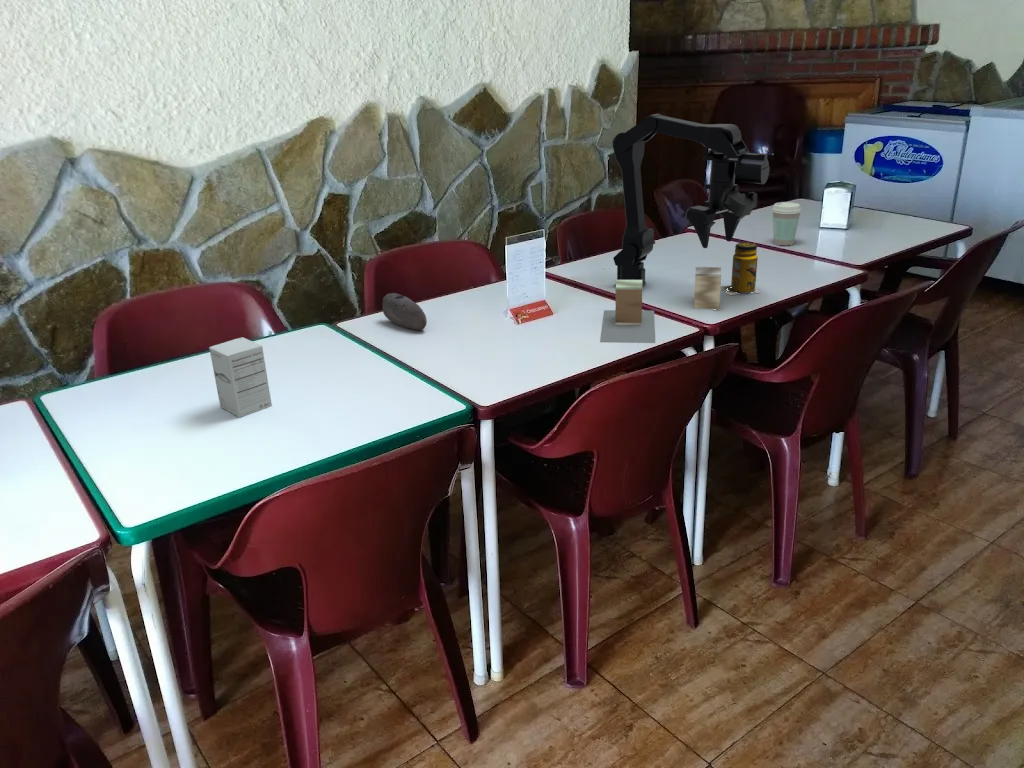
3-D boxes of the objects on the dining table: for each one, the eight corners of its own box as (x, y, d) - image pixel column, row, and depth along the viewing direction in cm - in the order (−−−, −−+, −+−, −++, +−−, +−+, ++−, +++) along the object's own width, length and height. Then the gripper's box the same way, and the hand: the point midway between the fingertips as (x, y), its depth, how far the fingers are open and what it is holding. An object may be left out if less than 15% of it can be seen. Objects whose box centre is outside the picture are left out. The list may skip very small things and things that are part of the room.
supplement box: (219, 407, 163) (207, 346, 158) (254, 395, 168) (243, 335, 163) (238, 418, 159) (226, 355, 154) (273, 406, 163) (263, 344, 158)
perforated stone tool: (434, 331, 199) (432, 303, 197) (416, 336, 196) (413, 308, 194) (400, 316, 210) (397, 289, 207) (381, 321, 207) (378, 294, 204)
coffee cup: (779, 239, 265) (783, 200, 261) (804, 243, 259) (807, 204, 255) (763, 244, 260) (766, 204, 256) (787, 248, 254) (791, 208, 250)
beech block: (693, 309, 206) (695, 273, 203) (694, 302, 212) (695, 266, 208) (719, 310, 205) (721, 274, 201) (718, 302, 210) (720, 267, 207)
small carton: (616, 316, 202) (616, 279, 199) (641, 316, 202) (642, 279, 198) (615, 324, 197) (615, 287, 193) (641, 325, 196) (642, 287, 193)
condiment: (760, 293, 216) (764, 246, 211) (728, 295, 215) (731, 249, 211) (749, 285, 223) (753, 239, 218) (718, 287, 222) (721, 242, 217)
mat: (604, 311, 207) (604, 310, 207) (653, 312, 205) (654, 310, 205) (600, 343, 187) (600, 342, 187) (655, 344, 186) (655, 342, 185)
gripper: (725, 190, 191) (719, 258, 197) (774, 179, 202) (767, 243, 208) (686, 183, 199) (682, 249, 205) (735, 173, 210) (730, 235, 216)
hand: (716, 244), depth 208 cm, fingers open, 9 cm apart
